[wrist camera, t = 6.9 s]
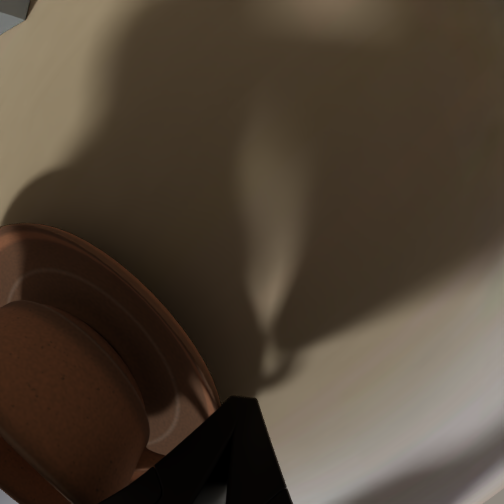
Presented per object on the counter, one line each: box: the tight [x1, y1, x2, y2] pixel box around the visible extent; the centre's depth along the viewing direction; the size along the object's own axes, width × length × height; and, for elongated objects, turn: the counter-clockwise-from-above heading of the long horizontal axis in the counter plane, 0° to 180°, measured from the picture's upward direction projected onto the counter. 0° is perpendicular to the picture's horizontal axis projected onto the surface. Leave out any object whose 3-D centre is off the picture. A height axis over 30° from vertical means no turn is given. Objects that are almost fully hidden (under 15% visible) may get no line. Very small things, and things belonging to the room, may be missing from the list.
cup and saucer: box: [0, 223, 221, 504], centre depth 8 cm, size 12×12×6 cm
